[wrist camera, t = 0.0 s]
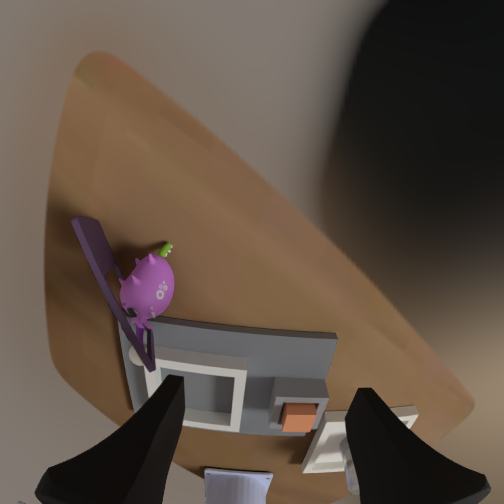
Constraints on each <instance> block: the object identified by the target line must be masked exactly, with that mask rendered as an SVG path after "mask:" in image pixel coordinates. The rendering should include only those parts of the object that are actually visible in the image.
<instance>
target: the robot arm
mask: <svg viewBox="0 0 504 504" xmlns="http://www.w3.org/2000/svg"><path fill="white" fill-rule="evenodd" d="M184 414H185V390H184V376H177V375H171V374H169V375H167V376H166V378H165V379H164V380H163V382H162V383H161V384H160V386H159V387H158V388H157V390H156V391H155V392H154V393H153V394H152V396H151V397H150V398H149V399H148V400H147V401H146V402H145V403H144V405H143V406H142V407H141V408H140V409H139V410H138V411H137V412H136V413H135V414H134V415H133V416H132V417H131V418H130V419H129V420H128V421H127V422H126V423H124V424H123V425H122V426H121V427H120V428H119V429H117V430H116V431H115V432H114V433H112V434H111V435H110V436H108V437H107V438H106V439H104V440H103V441H101V442H100V443H98V444H97V445H95V446H94V447H92V448H91V449H89V450H87V451H85V452H83V453H81V454H79V455H77V456H76V457H74V458H71V459H69V460H67V461H65V462H62V463H60V464H57V465H55V466H52V467H49V468H48V469H47V471H46V472H45V473H44V475H43V476H42V478H41V480H40V482H39V484H38V486H37V488H36V490H35V495H36V497H37V499H38V500H39V501H40V502H41V503H42V504H162V501H163V495H164V489H165V484H166V479H167V475H168V471H169V468H170V464H171V461H172V458H173V455H174V452H175V449H176V446H177V443H178V439H179V436H180V433H181V430H182V425H183V419H184ZM344 419H345V428H346V436H347V441H348V445H349V449H350V453H351V456H352V460H353V464H354V468H355V471H356V475H357V480H358V485H359V493H360V502H361V504H478V503H479V502H480V501H481V500H483V498H485V497H486V496H487V495H488V494H489V493H490V491H491V487H490V485H489V483H488V481H487V479H486V476H485V475H484V474H481V473H478V472H476V471H473V470H470V469H468V468H465V467H463V466H461V465H459V464H457V463H455V462H453V461H452V460H450V459H448V458H446V457H445V456H443V455H442V454H440V453H438V452H437V451H435V450H434V449H433V448H431V447H430V446H429V445H427V444H426V443H425V442H424V441H422V440H421V439H420V438H419V437H418V436H416V435H415V434H414V433H413V432H412V431H411V430H410V429H409V428H408V427H407V426H406V425H405V424H404V423H403V422H402V421H401V420H400V419H399V418H398V417H397V416H396V415H395V414H394V413H393V411H392V410H391V409H390V408H389V407H388V406H387V405H386V404H385V403H384V401H383V400H382V399H381V398H380V397H379V396H378V395H377V393H376V392H375V391H374V390H373V389H372V388H358V390H357V392H356V394H355V397H354V399H353V401H352V403H351V405H350V408H349V410H348V412H347V414H346V416H345V418H344ZM204 476H205V497H206V501H205V504H266V493H267V491H268V488H269V485H270V483H271V480H272V477H273V474H272V473H265V472H246V471H233V470H222V469H213V468H205V470H204ZM17 504H25V503H23V502H22V501H18V502H17Z"/></svg>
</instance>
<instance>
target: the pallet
mask: <svg viewBox="0 0 504 504" xmlns="http://www.w3.org/2000/svg"><path fill="white" fill-rule="evenodd" d="M122 311H123V310H122ZM123 313H124V315H125V317H126V319H127V320H128V322H129V324H130V326H131V328H132V329H133V331H134V333H135V334H136V325H137V324H136V322H134V324H133V325H132V323H131V320H132V318H130V317H128V316H127V315H126V313H125V312H124V311H123ZM128 315H129V314H128ZM147 321H148V323H149V324H150V325H151V326H153V327H154V329H152V331H153V336H154V350H155V363H156V370H155V371H153V372H151V373H150V372H149V371H148V370H147V368H146V367H145V365H143V366H138V365H136V364H134V363H133V362H132V361H131V360H130V358H129V350H130V348H131V346H132V344H131V342H130V341H128V339H127V337H126V336H125V335H124V334H123V332H122V329H121V325H120V323H119V321H118V327H119V334H120V341H121V347H122V353H123V359H124V364H125V370H126V375H127V380H128V385H129V390H130V395H131V399H132V403H133V408H134V412H135V413H136V412H137V411H138V410H139V409H140V408H141V407H142V406H143V405H144V403H145V402H146V401H147V400H148V399H149V398H150V397H151V396H152V394H153V393H154V392H155V391H156V390H157V388H158V387H159V386H160V384H161V383H162V382H163V380H164V379H165V378H166V376H167V375H169V374H171V375H177V376H184V390H185V414H184V419H183V425H182V426H184V427H190V428H197V429H204V430H212V431H220V432H230V433H241V434H254V435H274V436H305V435H306V432H282V421H281V414H282V410H283V406H284V403H285V402H287V403H314V404H315V409H316V414H317V415H316V418H315V421H314V423H313V426H312V428H311V429H317V427H318V425H319V422H320V420H321V417H322V415H323V412H324V410H325V407H326V405H327V402H328V400H329V395H328V391H327V387H326V383H325V379H326V376H327V373H328V370H329V367H330V364H331V361H332V358H333V354H334V351H335V348H336V345H337V341H338V338H337V335H336V333H319V332H302V331H287V330H274V329H262V328H251V327H241V326H231V325H222V324H213V323H204V322H196V321H189V320H181V319H174V318H167V317H160V316H156V317H155V318H154V317H153V318H150V319H147ZM143 344H144V350H145V352H146V353H147V331H146V330H145V328H144V334H143Z"/></svg>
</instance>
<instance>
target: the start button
mask: <svg viewBox="0 0 504 504" xmlns="http://www.w3.org/2000/svg"><path fill="white" fill-rule="evenodd" d="M316 415H317V414H316V409H315V404H314V403H287V402H285V403H284V406H283V410H282V414H281V421H282V432H310V431H311V428H312V426H313V423H314V421H315V418H316Z"/></svg>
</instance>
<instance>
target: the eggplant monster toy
mask: <svg viewBox="0 0 504 504" xmlns="http://www.w3.org/2000/svg"><path fill="white" fill-rule="evenodd" d="M71 223H72V225H73V228H74V230H75V232H76V235H77V237H78V240H79V242H80V244H81V247H82V249H83V251H84V254H85V256H86V258H87V260H88V262H89V264H90V266H91V269H92V271H93V273H94V275H95V277H96V279H97V281H98V283H99V285H100V287H101V289H102V291H103V293H104V295H105V297H106V299H107V301H108V305H109V307H110V309H111V311H112V312H113V314H114V316H115V318H117V320H118V321H119V323H120V325H121V329H122V332H123V334H124V335H125V336H126V337H127V339H128V341H130V342H131V344H132V346H131V348H130V350H129V358H130V360H131V361H132V362H133V363H134V364H136V365H138V366H143V365H145V367H146V368H147V370H148V371H149V372H150V373H151V372H153V371H155V370H156V363H155V350H154V336H153V331H152V329H154V327H153V326H151V325H150V324H149V323H148V321H147V319H150V318H153V317H154V318H155V317H156V316H158V315H159V314H161V313H162V312H163V311H165V309H166V308H167V307H168V306H169V304H170V302H171V299H172V296H173V292H174V275H173V271H172V268H171V266H170V265H169V263H168V262H167V261H166V260H165V259H164V257H165V256H167V255H168V253H167V252H169V253H170V250H169V248H172V246H173V245H171V243H169V242H168V243H166V245H164V246H163V247H162V249H161V250H160V251H159V253H158V254H157V255H155V254H151V253H149V255H148V256H146V257H144V258H143V259H142V260H141V261H140V260H139V259H138V258H136V259H135V262H136V265H137V266H136V267H135V269H134V270H133V271H132V273H131V274H130V275H129V277H128V278H127V279H126V280H125V278H124V276H123V274H122V272H121V270H120V268H119V266H118V264H117V261H116V259H115V257H114V255H113V253H112V251H111V248H110V246H109V244H108V242H107V239H106V237H105V235H104V233H103V230H102V228H101V226H100V223H99V221H98V220H95V219H90V218H86V217H81V216H76V217H74V218H72V219H71ZM166 253H167V254H166ZM112 267H113V268H114V270H115V272H116V274H117V276H118V278H119V281H120V283H121V285H122V287H121V290H120V300H121V304H122V306H123V308H124V309H123V308H122V309H123V311H124V312H125V313H126V315H127V316H128V317H130V318H132V320H131V323H132V325H133V324H134V322H136V324H137V325H136V334H135V333H134V331H133V329H132V328H131V326H130V324H129V322H128V320H127V319H126V317H125V315H124V313H123V311H122V309H121V308H120V306H119V304H118V302H117V300H116V298H115V296H114V294H113V292H112V290H111V288H110V286H109V284H108V282H107V280H106V278H105V274H106V273H107V272H108V271H109V270H110V269H111V268H112ZM128 314H129V315H128ZM144 328H145V330H146V331H147V353H146V352H145V350H144V344H143V334H144Z"/></svg>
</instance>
